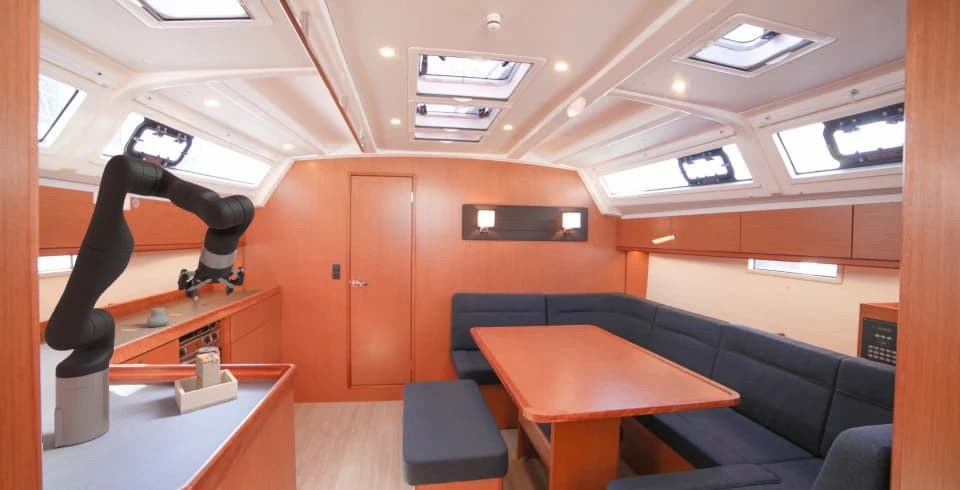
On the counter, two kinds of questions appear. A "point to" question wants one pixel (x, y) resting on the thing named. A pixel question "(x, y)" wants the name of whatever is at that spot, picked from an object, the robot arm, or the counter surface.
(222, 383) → the bin
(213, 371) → the supplement box
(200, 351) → the soda can
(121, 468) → the counter surface
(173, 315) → the counter surface
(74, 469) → the counter surface
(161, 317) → the air freshener
